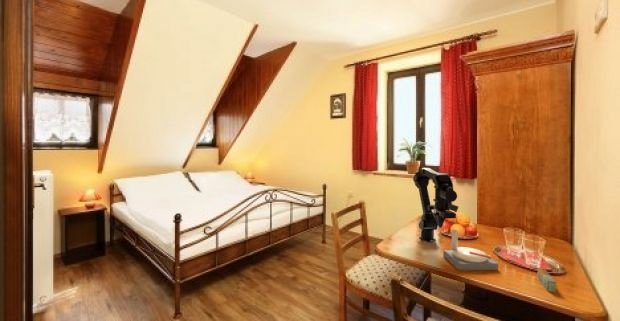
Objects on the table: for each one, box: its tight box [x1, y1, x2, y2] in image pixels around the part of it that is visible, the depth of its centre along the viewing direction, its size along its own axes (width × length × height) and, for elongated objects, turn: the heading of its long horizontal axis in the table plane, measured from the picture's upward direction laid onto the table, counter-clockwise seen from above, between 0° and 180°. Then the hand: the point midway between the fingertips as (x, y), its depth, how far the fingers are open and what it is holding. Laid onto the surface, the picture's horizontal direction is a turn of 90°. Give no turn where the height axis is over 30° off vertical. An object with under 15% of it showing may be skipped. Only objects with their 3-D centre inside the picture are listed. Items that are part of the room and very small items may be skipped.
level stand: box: [443, 249, 499, 271], centre depth 131 cm, size 17×15×4 cm
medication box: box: [536, 268, 557, 293], centre depth 112 cm, size 12×3×4 cm, turn 157°
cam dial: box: [450, 229, 492, 263], centre depth 131 cm, size 16×14×11 cm
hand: (440, 227), depth 146 cm, fingers closed
